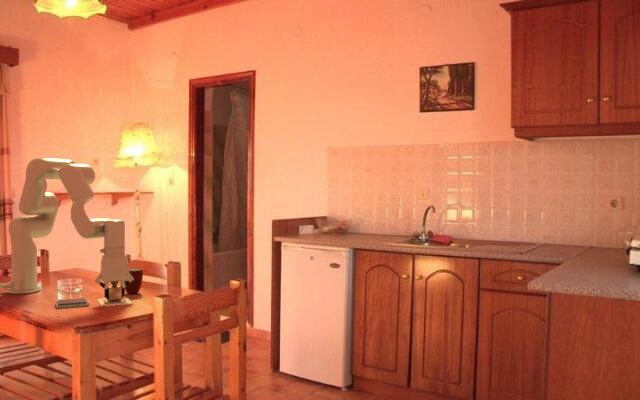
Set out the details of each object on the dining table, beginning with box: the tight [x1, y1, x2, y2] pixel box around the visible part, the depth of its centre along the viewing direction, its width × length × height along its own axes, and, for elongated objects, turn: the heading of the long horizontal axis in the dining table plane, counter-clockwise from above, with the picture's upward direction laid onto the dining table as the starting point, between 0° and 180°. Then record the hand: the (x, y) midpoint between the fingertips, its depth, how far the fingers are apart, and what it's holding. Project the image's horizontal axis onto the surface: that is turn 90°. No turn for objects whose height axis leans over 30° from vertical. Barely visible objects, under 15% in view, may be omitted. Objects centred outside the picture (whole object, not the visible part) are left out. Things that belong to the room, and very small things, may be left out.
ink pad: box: [54, 297, 90, 310], centre depth 211 cm, size 11×9×2 cm
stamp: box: [108, 281, 122, 302], centre depth 217 cm, size 4×4×9 cm
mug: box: [124, 267, 144, 295], centre depth 235 cm, size 11×8×10 cm
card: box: [97, 296, 133, 308], centre depth 217 cm, size 11×14×1 cm
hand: (114, 298), depth 217 cm, fingers closed on stamp, 4 cm apart
